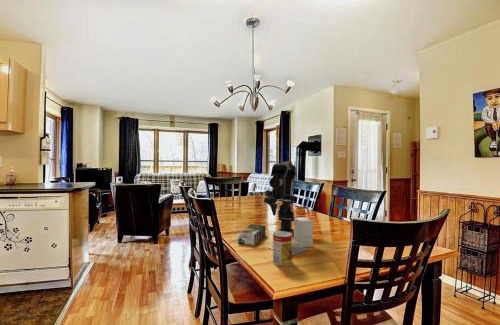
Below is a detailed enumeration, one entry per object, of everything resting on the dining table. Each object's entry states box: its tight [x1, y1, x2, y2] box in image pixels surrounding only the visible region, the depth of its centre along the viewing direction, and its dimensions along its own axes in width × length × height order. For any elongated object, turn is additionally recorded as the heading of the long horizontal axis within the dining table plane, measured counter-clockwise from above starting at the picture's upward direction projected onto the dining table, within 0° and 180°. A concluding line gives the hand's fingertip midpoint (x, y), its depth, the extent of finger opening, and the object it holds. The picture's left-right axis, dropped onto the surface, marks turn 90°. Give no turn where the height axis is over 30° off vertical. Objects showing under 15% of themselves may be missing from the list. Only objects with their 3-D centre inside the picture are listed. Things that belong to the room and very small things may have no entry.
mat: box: [268, 243, 310, 257], centre depth 126 cm, size 13×14×1 cm
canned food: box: [272, 230, 293, 267], centre depth 110 cm, size 8×8×12 cm
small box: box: [293, 216, 314, 248], centre depth 133 cm, size 8×6×13 cm
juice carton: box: [237, 224, 266, 246], centre depth 143 cm, size 20×10×6 cm, turn 159°
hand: (279, 214), depth 146 cm, fingers open, 8 cm apart
